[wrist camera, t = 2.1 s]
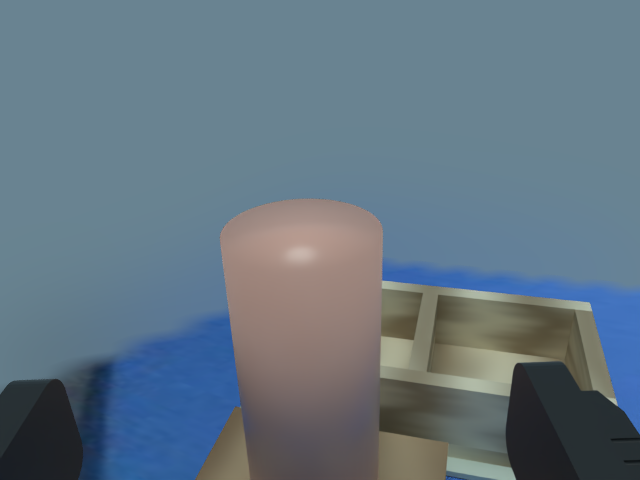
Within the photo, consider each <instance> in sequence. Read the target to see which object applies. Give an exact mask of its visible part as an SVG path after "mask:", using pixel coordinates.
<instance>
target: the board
mask: <svg viewBox="0 0 640 480" xmlns="http://www.w3.org/2000/svg"><path fill="white" fill-rule="evenodd" d="M448 444H449V443H447V442H441V441H435V440H429V439H423V438H417V437H411V436H405V435H399V434H394V433H388V432H382V431H379V470H378V480H445V479H446V467H447V456H448ZM195 480H250V473H249V465H248V457H247V450H246V442H245V434H244V426H243V418H242V410H241V408H240V407H235V408H234V410H233V412H232V413H231V415H230V417H229V419H228V421H227V422H226V424H225V426H224V428H223V430H222V432H221V433H220V435H219V437H218V439H217V441H216V443H215V444H214V446H213V448H212V450H211V452H210V453H209V455H208V457H207V459H206V461H205V463H204V464H203V466H202V468H201V470H200V472H199V474H198V475H197V477H196V479H195Z"/></svg>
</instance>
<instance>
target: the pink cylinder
mask: <svg viewBox="0 0 640 480" xmlns="http://www.w3.org/2000/svg"><path fill="white" fill-rule="evenodd" d="M220 244H221V252H222V260H223V267H224V276H225V284H226V291H227V299H228V307H229V315H230V323H231V331H232V339H233V347H234V355H235V363H236V371H237V378H238V386H239V394H240V402H241V410H242V418H243V426H244V434H245V442H246V450H247V457H248V465H249V473H250V480H378V470H379V415H380V360H381V305H382V250H383V247H382V246H383V229H382V225H381V223H380V222H379V220H378V219H377V218H376V217H375V216H374V215H373V214H371V213H370V212H368V211H366V210H364V209H362V208H360V207H358V206H355V205H352V204H348V203H344V202H340V201H334V200H326V199H325V200H324V199H294V200H293V199H292V200H284V201H278V202H272V203H268V204H264V205H261V206H257V207H255V208H252V209H249V210H247V211H245V212H242V213H241V214H239V215H237V216H236V217H234V218H233V219H231V220H230V221H229V222H228V223H227V224H226V225H225V226H224V228H223V229H222V231H221V234H220Z"/></svg>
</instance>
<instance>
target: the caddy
mask: <svg viewBox="0 0 640 480" xmlns="http://www.w3.org/2000/svg"><path fill="white" fill-rule="evenodd" d="M550 361H561V362H563V363H564V364H565V365H566V366H567V368H568V370H569V371H570V373H571V375H572V376H573V378H574V380H575V381H576V383H577V385H578V386H579V388H580V390H581V391H591V390H598V391H599V392H600V393H601V394H603V395H604V396H605V397H606V398H608V399H609V400H610V401H611V402H613V403H614V404H615V405H616V406H618V405H617V401H616V398H615V394H614V390H613V387H612V383H611V379H610V376H609V372H608V368H607V365H606V361H605V357H604V353H603V350H602V346H601V342H600V339H599V335H598V331H597V328H596V324H595V320H594V317H593V313H592V309H591V305H590V303H588V302H579V301H569V300H560V299H550V298H541V297H531V296H522V295H512V294H503V293H493V292H484V291H474V290H465V289H455V288H446V287H437V286H427V285H418V284H408V283H399V282H389V281H382V305H381V360H380V415H379V431H382V432H388V433H394V434H399V435H405V436H411V437H417V438H423V439H429V440H435V441H441V442H447V443H449V444H448V457H453V458H459V459H465V460H470V461H476V462H482V463H487V464H493V465H499V466H505V467H510V468H511V465H510V461H509V458H508V453H507V447H506V434H505V433H506V421H507V414H508V406H509V398H510V391H511V383H512V375H513V370H514V367H515V365H516V364H517V363H524V362H550Z"/></svg>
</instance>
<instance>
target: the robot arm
mask: <svg viewBox="0 0 640 480" xmlns="http://www.w3.org/2000/svg"><path fill="white" fill-rule="evenodd" d="M505 434H506V447H507V453H508V458H509V461H510V465H511V468H512V470H513V473H514V476H515V478H516V480H640V435H639V433H638V432H637V430H636V429H635V427H634V426H633V424H632V423H631V421H630V420H629V418H628V417H627V415H626V414H625V412H624V411H623V410H621V409H620V408H619V407H618V406H616V405H615V404H614V403H613V402H611V401H610V400H609V399H608V398H606V397H605V396H604V395H603V394H601V393H600V392H599V391H598V390H591V391H581V390H580V388H579V386H578V385H577V383H576V381H575V380H574V378H573V376H572V375H571V373H570V371H569V370H568V368H567V366H566V365H565V364H564V363H563V362H561V361H550V362H524V363H517V364H516V365H515V367H514V370H513V375H512V383H511V391H510V398H509V406H508V414H507V421H506V433H505ZM82 459H83V447H82V442H81V438H80V435H79V432H78V428H77V425H76V422H75V419H74V416H73V412H72V409H71V406H70V403H69V400H68V396H67V393H66V390H65V387H64V385H63V383H62V382H61V381H60V380H58V379H43V380H17V381H13V382H11V383H9V384H8V385H7V386H6V388H5V389H4V390H3V392H2V393H1V394H0V480H78V478H79V475H80V471H81V467H82Z"/></svg>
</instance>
